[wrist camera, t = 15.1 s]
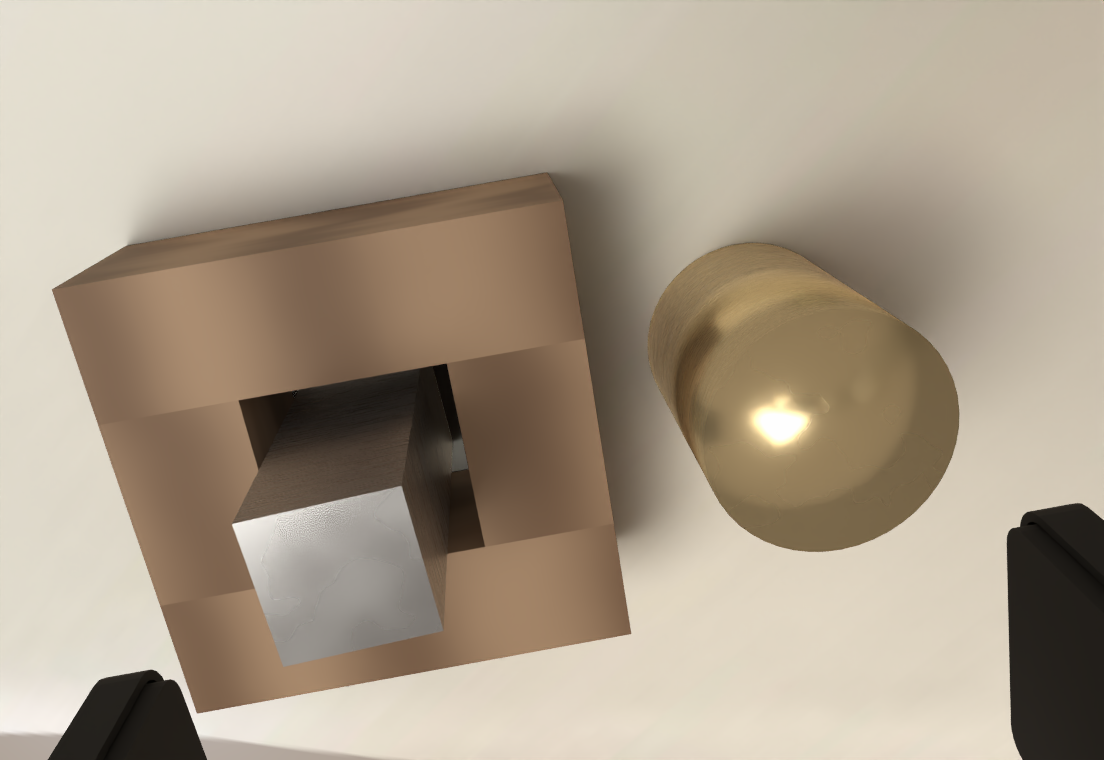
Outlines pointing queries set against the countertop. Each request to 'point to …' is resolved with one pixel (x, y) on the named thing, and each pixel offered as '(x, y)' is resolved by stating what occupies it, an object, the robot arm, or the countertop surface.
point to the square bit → (352, 517)
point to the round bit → (801, 398)
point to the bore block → (342, 355)
